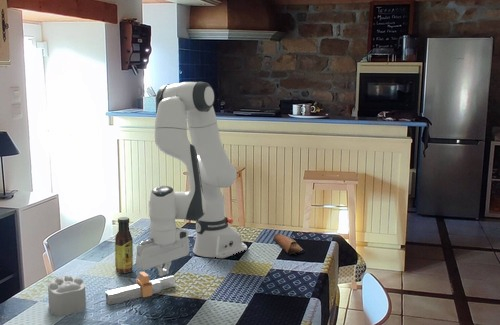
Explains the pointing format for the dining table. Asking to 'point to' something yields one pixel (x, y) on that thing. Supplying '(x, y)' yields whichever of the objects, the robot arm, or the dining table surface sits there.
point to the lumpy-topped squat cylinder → (66, 295)
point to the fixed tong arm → (165, 282)
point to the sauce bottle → (123, 247)
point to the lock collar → (145, 284)
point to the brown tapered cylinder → (287, 243)
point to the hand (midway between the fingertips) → (163, 274)
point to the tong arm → (131, 293)
